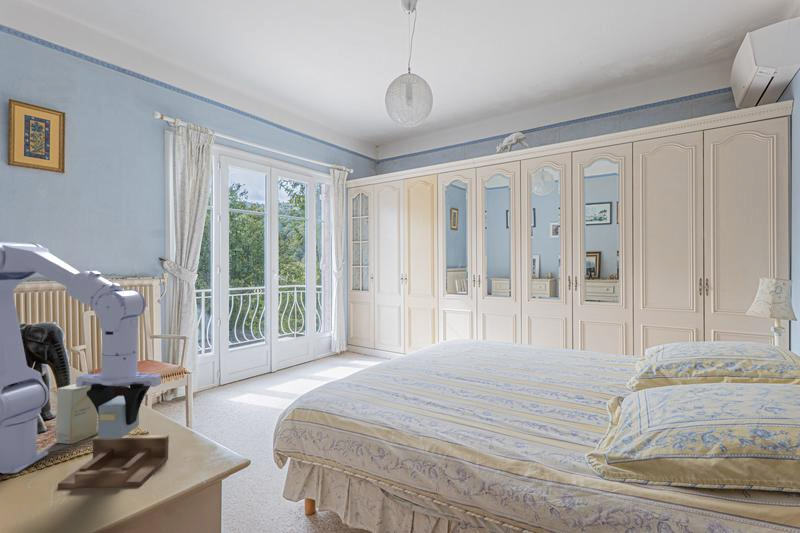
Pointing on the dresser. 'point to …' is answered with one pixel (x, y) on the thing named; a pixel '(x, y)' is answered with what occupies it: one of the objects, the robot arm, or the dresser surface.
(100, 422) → the cabinet block
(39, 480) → the dresser surface
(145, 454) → the rack
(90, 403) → the skincare box
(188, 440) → the dresser surface
